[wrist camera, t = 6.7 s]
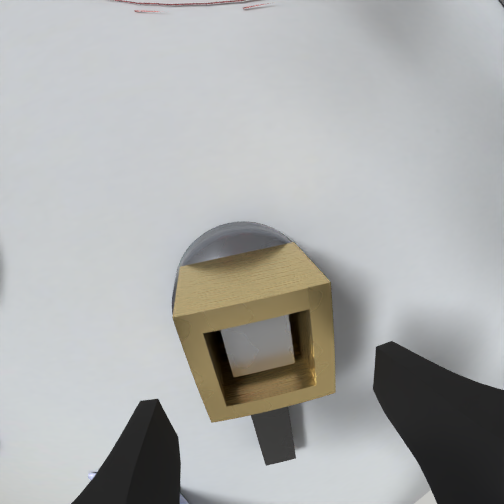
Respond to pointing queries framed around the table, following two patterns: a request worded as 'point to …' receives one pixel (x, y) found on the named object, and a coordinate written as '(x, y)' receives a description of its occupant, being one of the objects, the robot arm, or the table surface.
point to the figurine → (184, 4)
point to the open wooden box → (249, 311)
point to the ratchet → (252, 330)
